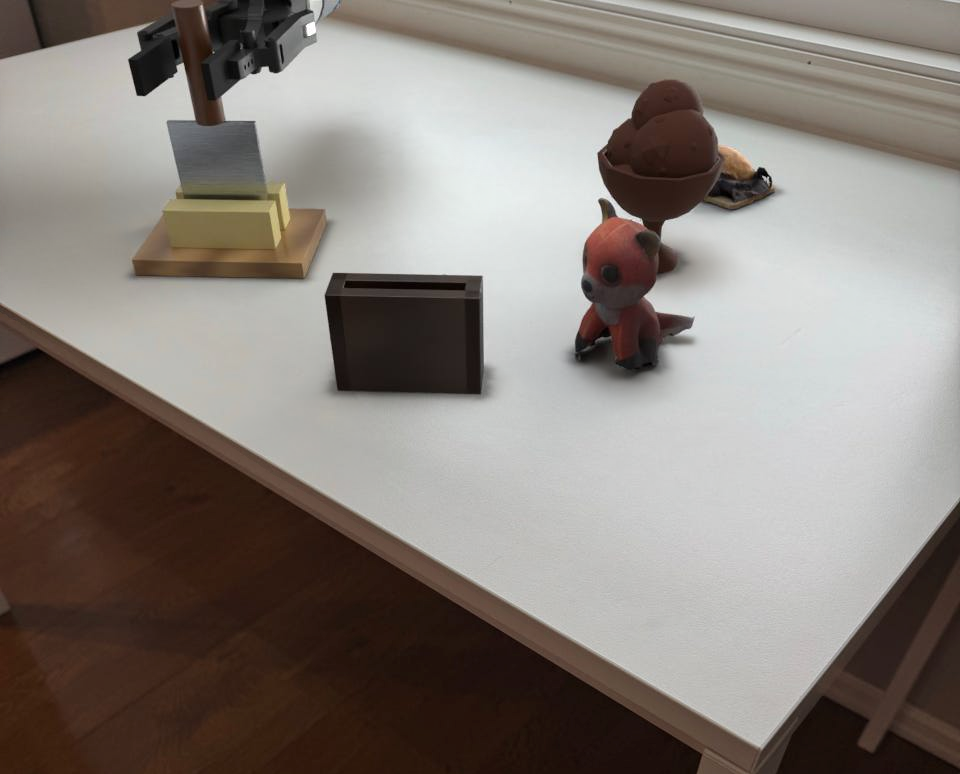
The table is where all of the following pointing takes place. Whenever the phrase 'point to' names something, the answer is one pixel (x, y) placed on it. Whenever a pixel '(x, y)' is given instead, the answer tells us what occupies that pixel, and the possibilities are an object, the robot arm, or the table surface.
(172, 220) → the butter
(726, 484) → the table surface
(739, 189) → the tan mound on tray
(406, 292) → the knife block
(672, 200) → the ice cream bowl
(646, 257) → the stuffed fox
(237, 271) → the board
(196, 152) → the cleaver knife
